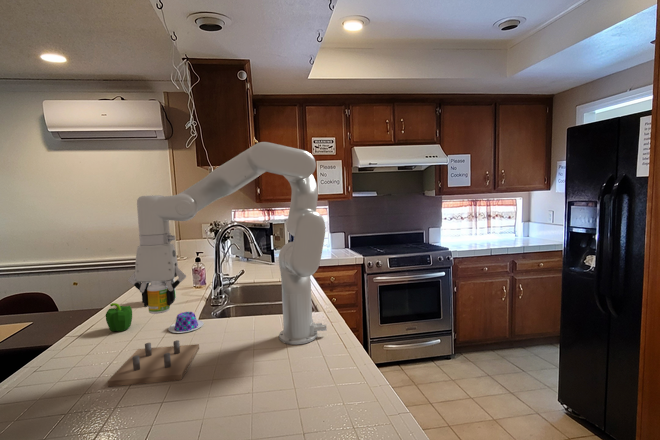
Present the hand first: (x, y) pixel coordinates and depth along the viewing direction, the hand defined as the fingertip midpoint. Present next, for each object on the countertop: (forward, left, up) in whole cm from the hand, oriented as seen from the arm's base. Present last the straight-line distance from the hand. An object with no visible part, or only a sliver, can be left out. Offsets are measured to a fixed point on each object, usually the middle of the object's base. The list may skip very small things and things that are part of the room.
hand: (159, 303), depth 97 cm
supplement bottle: (0, 0, -2) cm, 2 cm away
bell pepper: (+26, -31, -18) cm, 44 cm away
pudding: (+2, -29, -18) cm, 34 cm away
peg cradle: (+2, 0, -18) cm, 18 cm away
